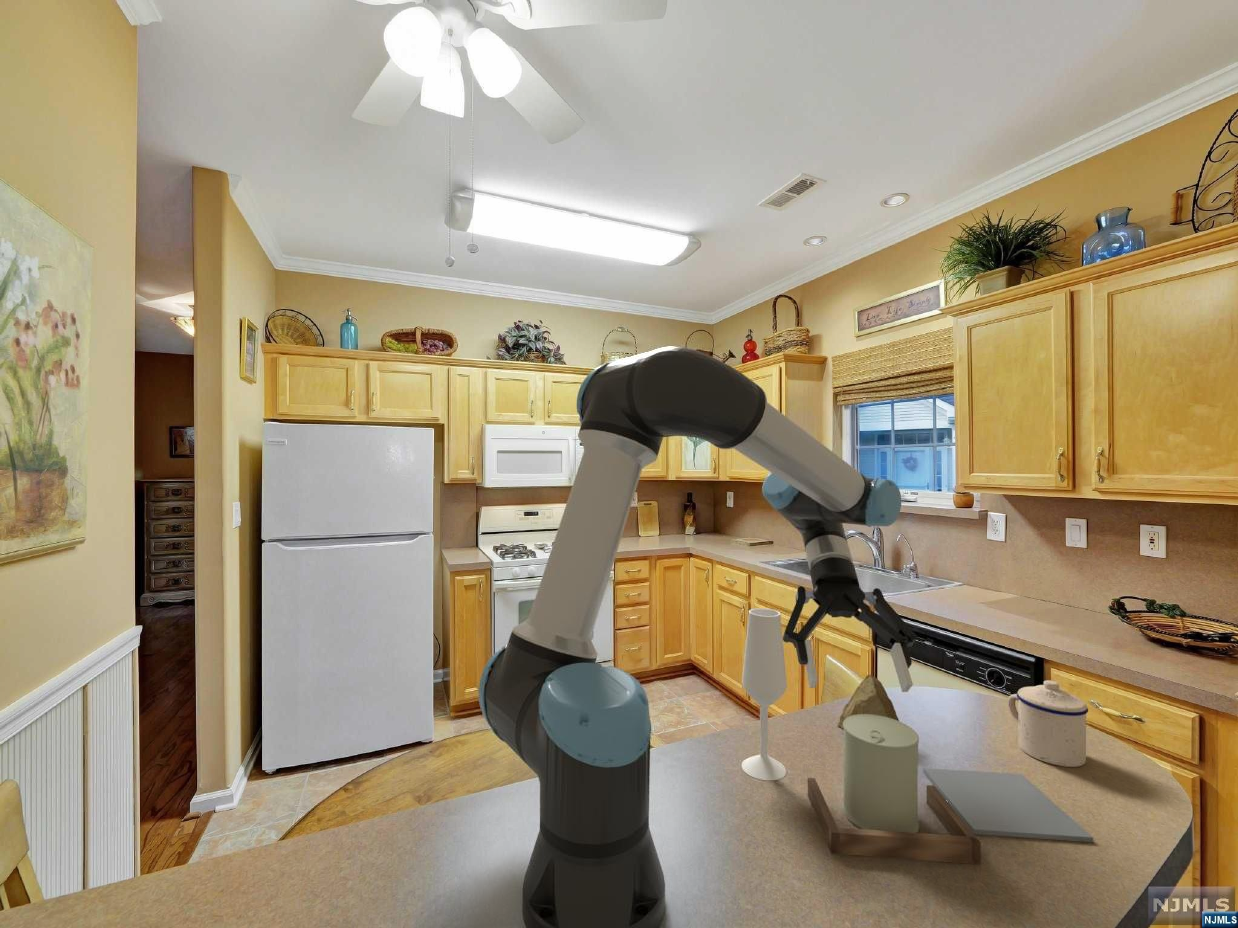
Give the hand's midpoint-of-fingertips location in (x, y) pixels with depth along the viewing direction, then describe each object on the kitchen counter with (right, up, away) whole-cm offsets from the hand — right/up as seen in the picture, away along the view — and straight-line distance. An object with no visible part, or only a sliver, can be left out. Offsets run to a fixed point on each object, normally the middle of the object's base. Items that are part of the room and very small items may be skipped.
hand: (860, 686), depth 82 cm
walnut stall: (-2, -13, -11) cm, 18 cm away
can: (-1, -14, -9) cm, 17 cm away
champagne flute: (-14, -14, +2) cm, 20 cm away
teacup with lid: (+34, -14, +8) cm, 38 cm away
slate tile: (+16, -14, -6) cm, 22 cm away
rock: (+7, -14, +11) cm, 19 cm away
